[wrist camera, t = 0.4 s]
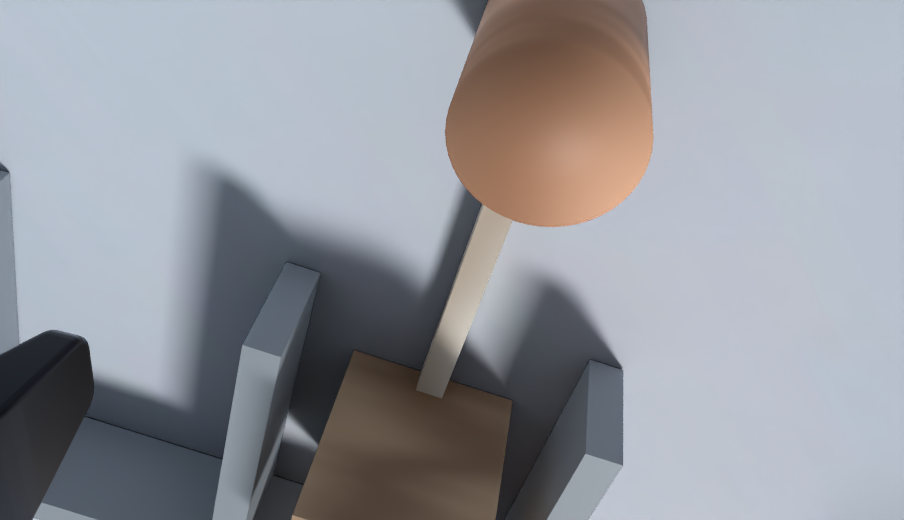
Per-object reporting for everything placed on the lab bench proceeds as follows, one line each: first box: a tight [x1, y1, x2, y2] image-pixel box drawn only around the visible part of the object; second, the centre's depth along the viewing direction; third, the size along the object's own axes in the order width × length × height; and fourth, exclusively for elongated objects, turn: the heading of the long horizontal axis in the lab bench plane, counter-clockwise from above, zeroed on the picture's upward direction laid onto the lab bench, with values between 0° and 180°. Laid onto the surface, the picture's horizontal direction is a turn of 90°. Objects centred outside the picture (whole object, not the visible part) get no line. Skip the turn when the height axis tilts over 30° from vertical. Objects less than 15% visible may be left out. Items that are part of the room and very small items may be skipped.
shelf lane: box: [0, 170, 623, 520], centre depth 26 cm, size 19×10×4 cm, turn 74°
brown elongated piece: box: [291, 0, 653, 520], centre depth 21 cm, size 5×18×6 cm, turn 164°
